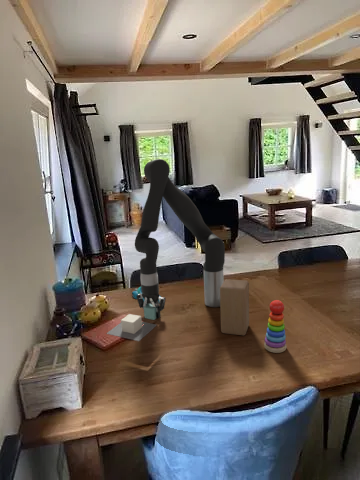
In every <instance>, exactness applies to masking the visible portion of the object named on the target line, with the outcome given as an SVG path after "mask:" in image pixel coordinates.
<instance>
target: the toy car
mask: <svg viewBox="0 0 360 480" xmlns="http://www.w3.org/2000/svg"><path fill="white" fill-rule="evenodd" d="M140 293H141V294H142V290H141V285H140V286H139V287H138V288H135V289H134V290H133V291H132V292H131V295H132V296H131V297H132V298H134V299H136V300H137V297H136V296H137V295H138V294H140ZM160 297H162V296H161V295H160ZM143 301H144V299H143ZM158 301H159V300H158ZM159 304H160V302H159Z"/></svg>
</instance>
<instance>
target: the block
mask: <svg viewBox="0 0 360 480" xmlns="http://www.w3.org/2000/svg"><path fill="white" fill-rule="evenodd" d="M219 311H220V331H221V333H222V334H228V335H235V336H237V335H238V336H246V334H247V331H248V328H249V324H250V282H249V280H246V279H229V278H226V279H225V278H224V282H223V284H222V286H221V287H220V309H219Z"/></svg>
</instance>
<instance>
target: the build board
mask: <svg viewBox="0 0 360 480" xmlns="http://www.w3.org/2000/svg"><path fill="white" fill-rule="evenodd" d="M143 324H144V325H143ZM142 325H143V326H142V328H140V329H139V330H138V331H137V332H136V333H135V334H133V333H128V332H123V331H122V326H121V322H120V323H118V324H117V325H116V326H114V327H113V328H111V329H110V330H109V331H108V332H106V334H107V335H111V336H116V337H120V338H122V339H123V338H124V339H128V340H132V341H135V342H140V341H141V340H142V339H143V338H145V337H146V336H147V335H148V334H149V333H150V332H151V331H153V330H154V329H155V327H157V326H158V324H155V323H149V322H145V321H142Z"/></svg>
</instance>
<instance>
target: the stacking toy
mask: <svg viewBox="0 0 360 480" xmlns="http://www.w3.org/2000/svg"><path fill="white" fill-rule="evenodd" d="M269 310H270V313H269V315H268V316H269V318H268V320H267V322H268V323H267V328H266V333H265V337H264V343H263V344H264V345H263V347H264V348H265V350H266V351H267V352H271V353H274V354H275V353H276V354H279V353H283V352H285V351H286V349H287V343H286V342H287V340H286V338H287V336H286V330H285V327H286V326H285V319H284V317H285V315H284V310H285V304H284V303H283V302H282V301H281V300H279V299H275V300H272V301H271V302H270V303H269Z"/></svg>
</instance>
